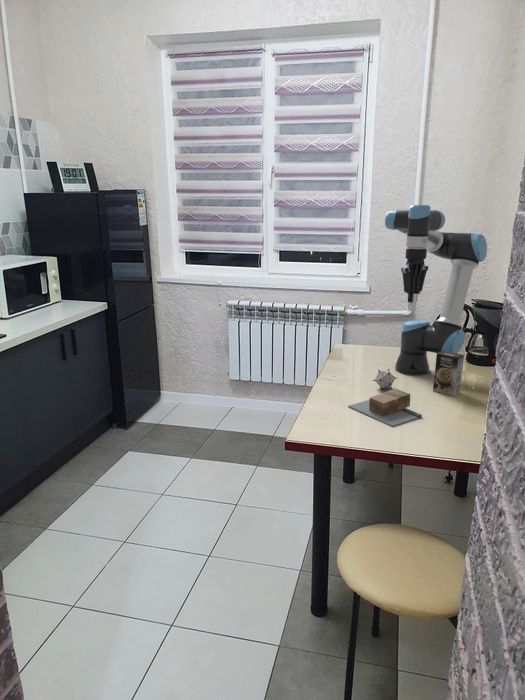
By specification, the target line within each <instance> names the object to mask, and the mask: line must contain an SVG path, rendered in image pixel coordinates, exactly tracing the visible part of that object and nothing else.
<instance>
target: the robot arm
mask: <svg viewBox="0 0 525 700" xmlns="http://www.w3.org/2000/svg"><path fill="white" fill-rule="evenodd" d="M445 223H446V216H445V214H444V213H443V212H442V211H440V210H437V209H434V210H433V209H432V210H431V206H430V205H429V204H412V205H410V206H409V210H406V209H405V210H403V209H402V210H401V209H395V210H389V211H388V212H386V215H385V219H384V224H385V227H386V228H387V229H388V230H391V231H396V230H397V231H399V232H400V233H403V234H404V235H406V244H405V246H406V249H405V255H404V256H405V257H404V258H405V259H406V263H405V266H404V267H401V268H400V271H401V274H402V280H403V281H402V283H403V291H404V293H405V294H407V311H410V312H415V311H416V309H417V302H418V295H420V294H421V292H422V291H423V287H424V284H425V279H426V276H427V271H428V270H429V265H425V260H426V259H427V257H428V256H427V255H428V254H427V253H428V252H429V254H433V255H435V256H436V257H438V258H442V259H446V260H450V264H451V265H452V268H451V272H450V275H449V280H448V283H447V288H446V291H445V296H444V297H443V298H444V299H443V303H442V306H441V310H440V315H439V318H438V319H436V320H434V324H433V325H432V324H431V323H430V321H429V320H424V319H421V320H418V319H417V320H409V321H405V322H404V323H403V324H402V329H401V331H400V332H401V338H400V340H401V341H400V353H399V355H398V357H397V360H396V363H395V364H394V365H395V366H394V369H395V371H397V372H398V373H401V374H405V375H409V376H422V375H423V376H424V375H427V374H429V373H430V364H429V360H428V356H427V353H428V352H430V353H435V354H437V353H439V352H442V351H447V352H452V353H457V354H459V352H460V351H461V349H462V347H463V345H464V342H465V337H466V335H465V334H466V333H465V331H463V325H462V324H461V319H462V315H463V311H464V307H465V302H466V300H467V299H466V298H467V296H468V291H469V288H470V283H471V281H472V277H473V276H472V275H473V272H474V270H475V269H476V268H478V267H479V263H480V262H484V261H485V259H486V257H487V252H488V244H487V239H486V237H485V236H484V235H483V234H482V233H473V232H472V233H470V232H469V233H467V232H442V231H439V230H440V229H441V230H442V228H443V227H444V226H445Z"/></svg>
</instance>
